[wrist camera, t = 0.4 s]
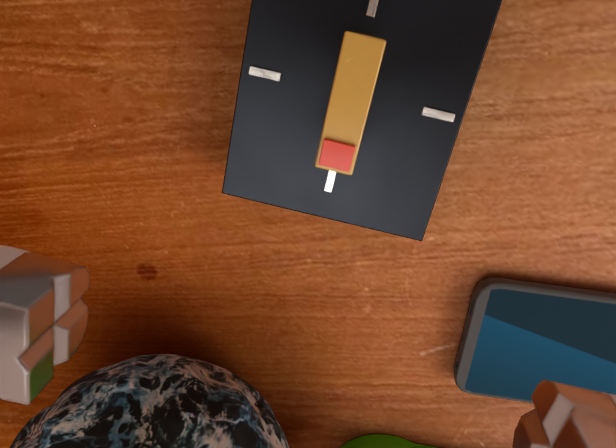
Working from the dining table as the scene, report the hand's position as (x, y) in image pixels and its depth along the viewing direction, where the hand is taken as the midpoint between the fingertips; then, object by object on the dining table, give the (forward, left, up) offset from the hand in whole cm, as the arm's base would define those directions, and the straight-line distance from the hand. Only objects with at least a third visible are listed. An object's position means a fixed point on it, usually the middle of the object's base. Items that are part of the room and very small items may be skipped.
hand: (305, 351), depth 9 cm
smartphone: (+8, +17, -18) cm, 26 cm away
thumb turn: (-3, 0, -15) cm, 15 cm away
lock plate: (-3, 0, -18) cm, 18 cm away
